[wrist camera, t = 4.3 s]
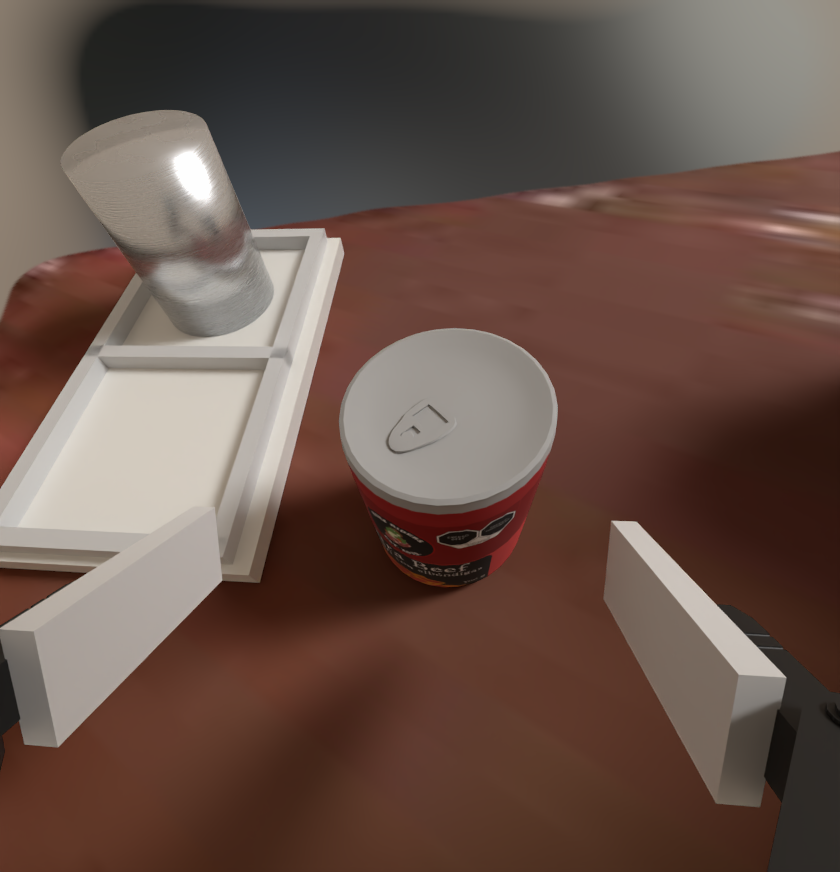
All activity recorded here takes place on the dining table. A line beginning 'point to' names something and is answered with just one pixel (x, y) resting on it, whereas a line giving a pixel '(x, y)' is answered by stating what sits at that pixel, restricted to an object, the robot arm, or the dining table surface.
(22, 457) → the divided white tray
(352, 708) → the dining table surface
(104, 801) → the dining table surface
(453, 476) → the canned food
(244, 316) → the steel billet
